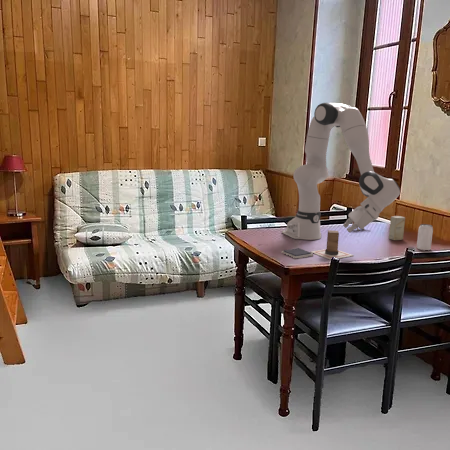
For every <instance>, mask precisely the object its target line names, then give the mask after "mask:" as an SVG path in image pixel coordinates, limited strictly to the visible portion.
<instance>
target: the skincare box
mask: <svg viewBox="0 0 450 450" xmlns="http://www.w3.org/2000/svg"><path fill="white" fill-rule="evenodd" d="M405 223H406V217H405V216H401V215H394V216H390V222H389V231H388V232H389V233H388V239H389V240H392V241H402V240H404V232H405Z"/></svg>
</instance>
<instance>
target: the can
mask: <svg viewBox="0 0 450 450" xmlns="http://www.w3.org/2000/svg"><path fill="white" fill-rule="evenodd" d="M433 232H434V228H433V225H431V224H427V223H421V224H420V225H419V227H418V231H417V241H416V249H417V250H419V251H425V250H428V251H430V250H431V249H432V242H433V241H432V239H433Z"/></svg>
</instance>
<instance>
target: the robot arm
mask: <svg viewBox="0 0 450 450" xmlns="http://www.w3.org/2000/svg"><path fill="white" fill-rule="evenodd" d="M313 115H314V116H313V117H312V119H311V120H310V122H309V123H310V124H309V127H308V131H307V134H306V135H307V136H306V139H305V141H306V142H305V146H304V153H305V155H306V164H301V165H300V166H298V167H297V168H296V169H295V170H294V172H293V175H292V176H293V180H294V182H295V183H296V185H297V189H298V190H297V191H298V210H296V211H294V213H295V214H296V215H295V217H293V218H292V219H291V220H289V221H288V222H287V225H286V229H283V230H282V231H281V233H282V234H284V235H286V236H287V237H290V238H291V239H295V240H307V241H308V240H309V241H310V240H311V241H312V240H315V241H316V240H319V239H320V240H321V238H322V233H321V220H320V219H321V211H320V210H321V195H320V193H319V189H318V184H321V183H323V182H324V181H325V180H326V179H327V178H328V177H329V169H328V168H327V151H328V147H329V141H330V135H331V130H332V128H335V127H336V128H341V133H342V136H343V139H344V141H345V144H346V145H347V147H348V149H349V150H350V152H351V154H352V155H353V157H354V159H355V160H356V163H357V167H358V171H359V173H360V176H359V179H358V185H359V188H360V192H361V194H362V195H363V196H364V197H366V198H365V199H364V200H363V201H362V202H360V203H359V204H360V205H358V206H356V207H355V208H354V209H353V210H352V211H350V212H349V213H348V215H347V216H348V218H347V219H346V221H345V222H344V223H343V225H342V226H343V227H344V228H346V231H347V232H348V233H351V232H353V231H354V230H357V227H358V229H359V230H361V229H362V228H364V229H365V227H367V226H368V225H369V224H371V223H372V222H373V221H374V220H377V219H378V218H379V217H380V213H382V212H383V210H384V209H385V208H386V207H388V206H391V204H392V203H393V202H394V201H395V200H396V199H397V198H398V197H399V196H400V194H401V188H400V186H399V185H398V183H397V181H395V180H394V179H393V178H387V177H384V176H383V175H380V174H378V173H377V172H375V170H374V166H373V163H372V160H371V156H370V139H369V132H368V128H367V124H366V121H365V119H364V116H363V115H362V113H361V112H360V110H359V109H358V108H357V107H352V106H351V105H349V104H346V103H339V102H322V103H319V104H318V105H317V106H316V108H315V109H314V114H313ZM352 222H354V224H353V225H352V224H351V223H352ZM349 225H350V226H349ZM362 230H363V229H362Z"/></svg>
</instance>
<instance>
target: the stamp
mask: <svg viewBox="0 0 450 450" xmlns="http://www.w3.org/2000/svg"><path fill="white" fill-rule="evenodd" d="M339 234H340V232H339V230H330V229H329V230H327V234H326V235H327V236H326V237H327V239H326V248H325V249H326V250H325V253H326V254H328V255H338V250H339V249H338V248H339V237H340V235H339Z"/></svg>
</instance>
